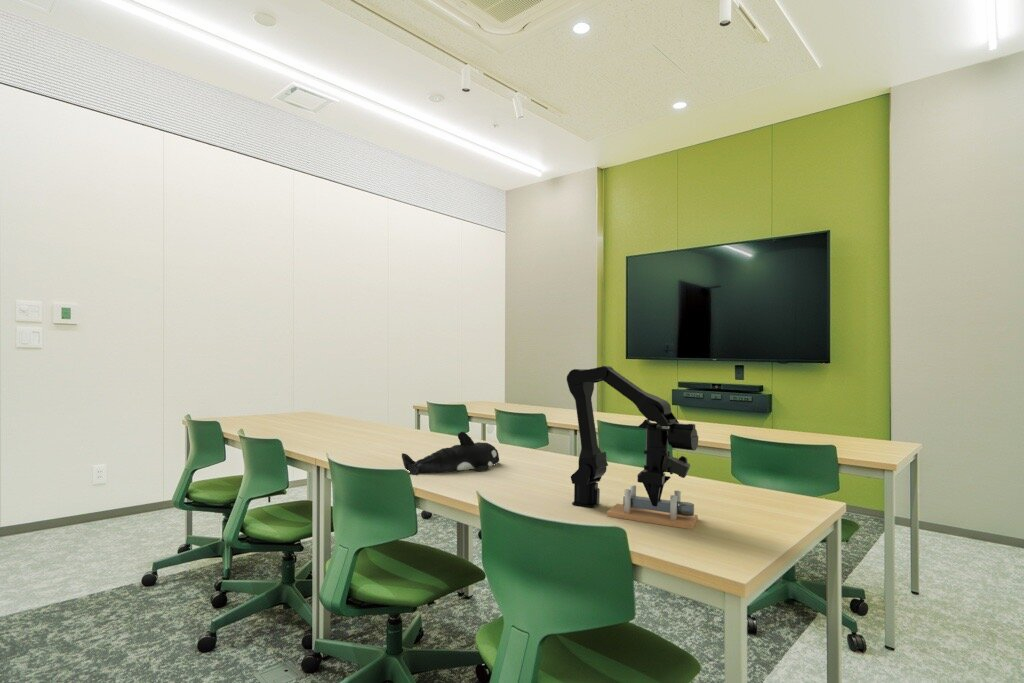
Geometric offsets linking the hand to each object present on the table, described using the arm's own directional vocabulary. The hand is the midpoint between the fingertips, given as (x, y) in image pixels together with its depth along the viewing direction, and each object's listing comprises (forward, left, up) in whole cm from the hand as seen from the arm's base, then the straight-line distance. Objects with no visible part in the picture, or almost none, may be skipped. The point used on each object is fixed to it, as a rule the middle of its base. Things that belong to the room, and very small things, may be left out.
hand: (656, 504), depth 142 cm
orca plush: (-83, +29, -4) cm, 88 cm away
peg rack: (-1, 0, -4) cm, 4 cm away
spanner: (+1, 0, -1) cm, 1 cm away
